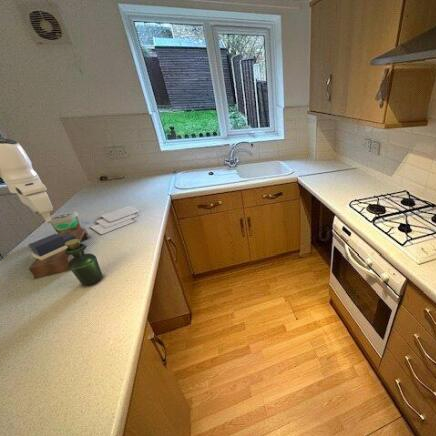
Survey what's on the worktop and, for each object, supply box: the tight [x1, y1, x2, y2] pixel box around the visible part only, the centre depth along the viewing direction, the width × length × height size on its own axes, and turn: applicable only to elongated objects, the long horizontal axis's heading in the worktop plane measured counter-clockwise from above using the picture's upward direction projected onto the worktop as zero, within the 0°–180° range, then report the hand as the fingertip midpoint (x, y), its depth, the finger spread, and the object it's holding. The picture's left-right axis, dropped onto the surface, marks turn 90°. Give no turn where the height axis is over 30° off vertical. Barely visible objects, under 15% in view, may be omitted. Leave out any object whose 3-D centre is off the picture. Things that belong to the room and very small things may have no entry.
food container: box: [47, 210, 82, 234], centre depth 122 cm, size 12×6×10 cm, turn 129°
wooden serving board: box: [28, 228, 90, 279], centre depth 106 cm, size 12×28×5 cm, turn 26°
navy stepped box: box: [27, 233, 81, 260], centre depth 101 cm, size 14×6×6 cm, turn 156°
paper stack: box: [90, 205, 141, 235], centre depth 137 cm, size 23×25×1 cm
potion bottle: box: [65, 239, 104, 287], centre depth 88 cm, size 8×8×18 cm
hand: (43, 217), depth 94 cm, fingers open, 8 cm apart
